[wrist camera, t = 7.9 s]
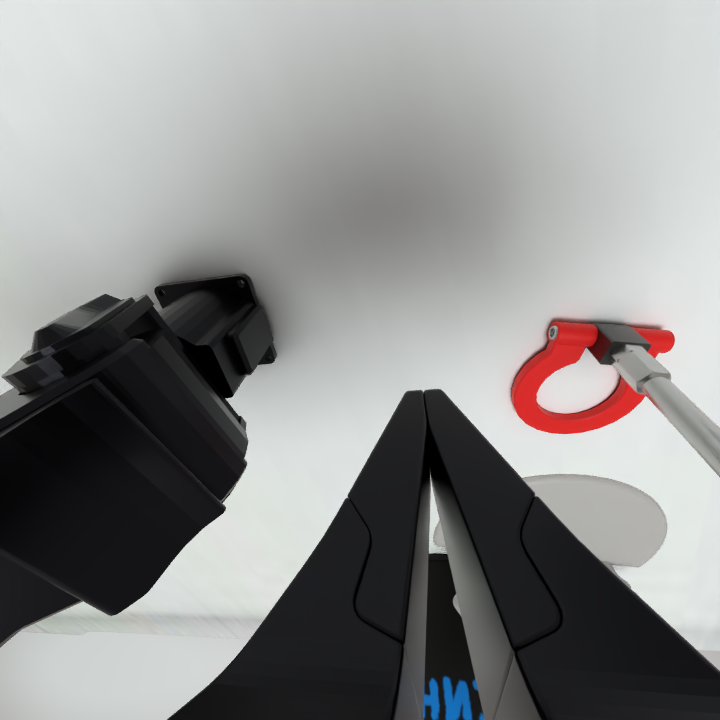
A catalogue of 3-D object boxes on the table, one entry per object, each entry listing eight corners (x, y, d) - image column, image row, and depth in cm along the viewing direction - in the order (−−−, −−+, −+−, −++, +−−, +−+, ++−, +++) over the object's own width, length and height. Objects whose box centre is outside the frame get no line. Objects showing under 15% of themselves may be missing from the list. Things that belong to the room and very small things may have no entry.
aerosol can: (465, 589, 41) (514, 891, 24) (400, 582, 41) (405, 873, 25) (481, 557, 36) (553, 902, 20) (407, 549, 37) (418, 880, 20)
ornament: (431, 540, 36) (454, 792, 22) (454, 462, 28) (511, 766, 14) (639, 562, 34) (805, 845, 20) (720, 486, 27) (1064, 846, 13)
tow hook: (605, 428, 25) (679, 325, 20) (749, 641, 15) (993, 551, 9) (495, 417, 26) (538, 314, 20) (560, 617, 15) (685, 517, 10)
